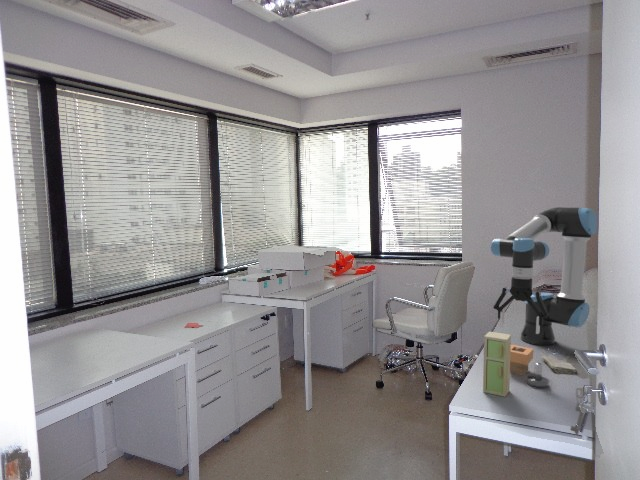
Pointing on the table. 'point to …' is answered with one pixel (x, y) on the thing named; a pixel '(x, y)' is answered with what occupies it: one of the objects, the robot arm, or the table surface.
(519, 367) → the stand
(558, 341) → the table surface
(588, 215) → the robot arm
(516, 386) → the table surface
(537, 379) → the hub
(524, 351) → the slotted orange block
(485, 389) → the toy refrigerator
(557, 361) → the stone
